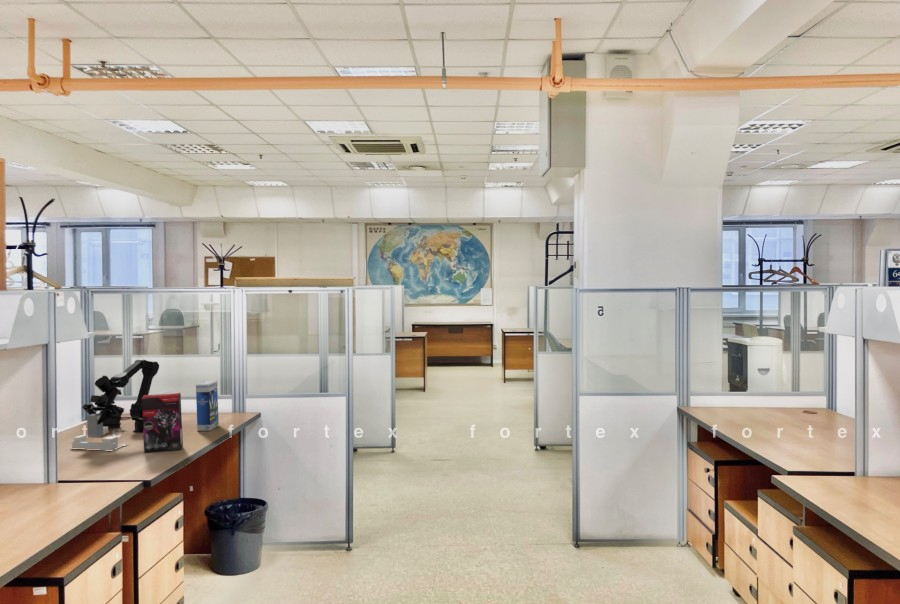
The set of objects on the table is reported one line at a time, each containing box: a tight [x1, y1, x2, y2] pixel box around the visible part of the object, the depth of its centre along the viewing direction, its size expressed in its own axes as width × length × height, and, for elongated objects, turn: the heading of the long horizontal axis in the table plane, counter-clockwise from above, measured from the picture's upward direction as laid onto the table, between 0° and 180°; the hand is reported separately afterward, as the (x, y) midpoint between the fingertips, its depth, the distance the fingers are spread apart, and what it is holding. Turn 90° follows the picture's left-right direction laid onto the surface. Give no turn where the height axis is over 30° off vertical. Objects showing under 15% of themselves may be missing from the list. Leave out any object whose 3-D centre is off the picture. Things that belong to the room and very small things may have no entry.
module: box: [86, 412, 103, 438], centre depth 308 cm, size 4×6×11 cm
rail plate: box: [71, 434, 129, 451], centre depth 308 cm, size 12×24×5 cm, turn 77°
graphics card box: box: [142, 392, 184, 453], centre depth 301 cm, size 17×7×27 cm, turn 105°
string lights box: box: [195, 380, 220, 432], centre depth 344 cm, size 13×8×26 cm, turn 0°
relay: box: [103, 427, 109, 436], centre depth 334 cm, size 6×4×4 cm
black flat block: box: [98, 404, 125, 429], centre depth 347 cm, size 4×13×15 cm, turn 108°
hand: (93, 423), depth 307 cm, fingers closed on module, 5 cm apart
